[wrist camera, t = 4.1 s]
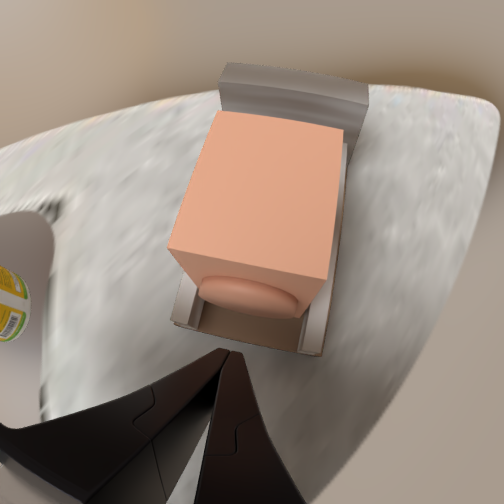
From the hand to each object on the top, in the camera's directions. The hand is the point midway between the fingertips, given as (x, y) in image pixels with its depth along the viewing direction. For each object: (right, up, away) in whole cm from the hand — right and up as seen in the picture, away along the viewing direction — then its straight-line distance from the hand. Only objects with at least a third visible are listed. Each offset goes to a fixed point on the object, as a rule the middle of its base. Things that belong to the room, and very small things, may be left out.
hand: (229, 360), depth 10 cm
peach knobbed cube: (+1, +3, +7) cm, 8 cm away
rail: (+2, +6, +10) cm, 12 cm away
